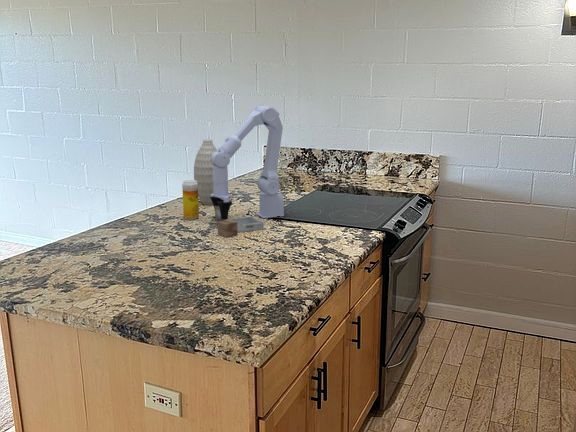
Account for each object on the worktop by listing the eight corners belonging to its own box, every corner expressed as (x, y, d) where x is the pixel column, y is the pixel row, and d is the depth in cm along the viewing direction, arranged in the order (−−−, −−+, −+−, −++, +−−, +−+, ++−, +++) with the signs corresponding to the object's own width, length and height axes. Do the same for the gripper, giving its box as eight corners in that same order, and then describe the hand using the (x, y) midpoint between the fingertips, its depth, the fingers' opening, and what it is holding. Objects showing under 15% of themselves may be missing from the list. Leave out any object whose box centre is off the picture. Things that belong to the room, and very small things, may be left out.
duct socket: (253, 222, 225) (253, 216, 225) (264, 229, 215) (264, 223, 215) (226, 225, 221) (226, 218, 220) (236, 233, 211) (236, 226, 210)
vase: (189, 205, 253) (186, 140, 245) (204, 199, 264) (202, 137, 257) (215, 207, 248) (213, 142, 241) (228, 201, 259) (227, 138, 252)
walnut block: (228, 232, 212) (228, 219, 211) (237, 235, 209) (237, 221, 207) (218, 235, 209) (217, 221, 207) (226, 238, 205) (226, 224, 204)
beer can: (195, 220, 228) (194, 183, 224) (181, 219, 229) (179, 182, 225) (201, 216, 233) (200, 180, 230) (186, 215, 234) (185, 179, 231)
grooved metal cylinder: (225, 218, 231) (225, 203, 230) (229, 221, 227) (229, 206, 225) (213, 219, 229) (213, 204, 228) (217, 222, 225) (216, 207, 223)
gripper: (205, 179, 229) (206, 213, 232) (216, 186, 216) (217, 221, 219) (222, 178, 232) (223, 211, 235) (234, 185, 219) (234, 220, 222)
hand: (221, 216), depth 227 cm, fingers open, 7 cm apart
